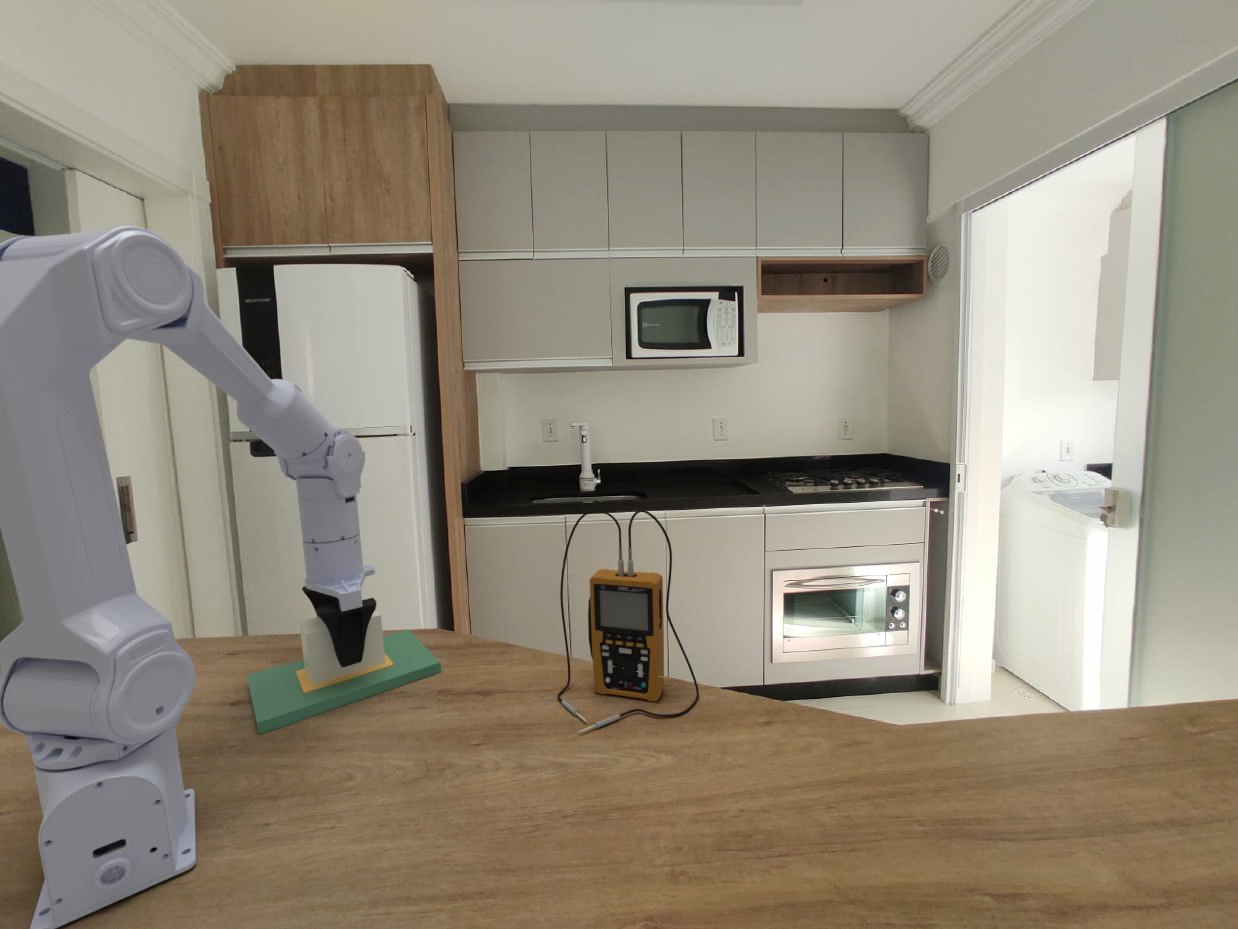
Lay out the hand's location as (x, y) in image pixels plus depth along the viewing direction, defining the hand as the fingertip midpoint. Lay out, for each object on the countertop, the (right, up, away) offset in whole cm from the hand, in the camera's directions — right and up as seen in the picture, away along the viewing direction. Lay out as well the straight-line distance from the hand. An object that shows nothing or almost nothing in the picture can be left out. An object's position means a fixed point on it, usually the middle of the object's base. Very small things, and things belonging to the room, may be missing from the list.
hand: (343, 651), depth 63 cm
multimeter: (+32, -4, -8) cm, 33 cm away
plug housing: (0, -2, 0) cm, 2 cm away
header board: (0, -3, 0) cm, 3 cm away
